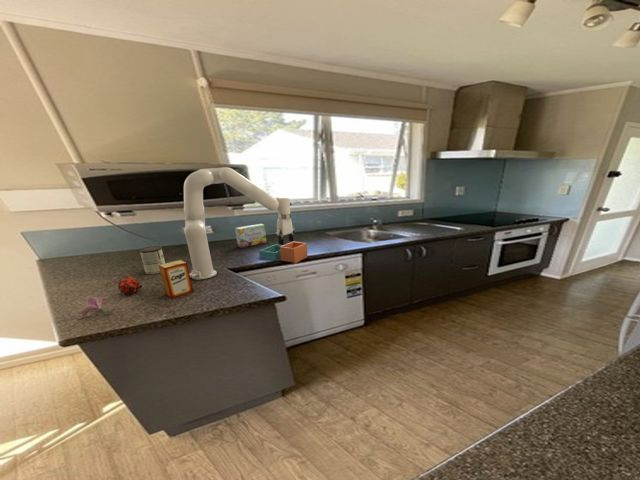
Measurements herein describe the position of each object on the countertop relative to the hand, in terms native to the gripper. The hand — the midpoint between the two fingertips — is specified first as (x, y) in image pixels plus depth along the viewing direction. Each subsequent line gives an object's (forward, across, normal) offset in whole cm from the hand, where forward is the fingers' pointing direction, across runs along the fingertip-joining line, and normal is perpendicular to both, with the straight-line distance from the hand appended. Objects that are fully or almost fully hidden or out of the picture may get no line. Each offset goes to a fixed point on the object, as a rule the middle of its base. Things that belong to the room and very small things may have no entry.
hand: (286, 242), depth 183 cm
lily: (+15, +85, -32) cm, 92 cm away
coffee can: (+15, +42, -62) cm, 77 cm away
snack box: (+14, -23, -52) cm, 58 cm away
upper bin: (+13, -7, 0) cm, 15 cm away
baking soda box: (+14, +58, -20) cm, 63 cm away
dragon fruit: (+15, +66, -44) cm, 80 cm away
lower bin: (+13, -7, -16) cm, 22 cm away
